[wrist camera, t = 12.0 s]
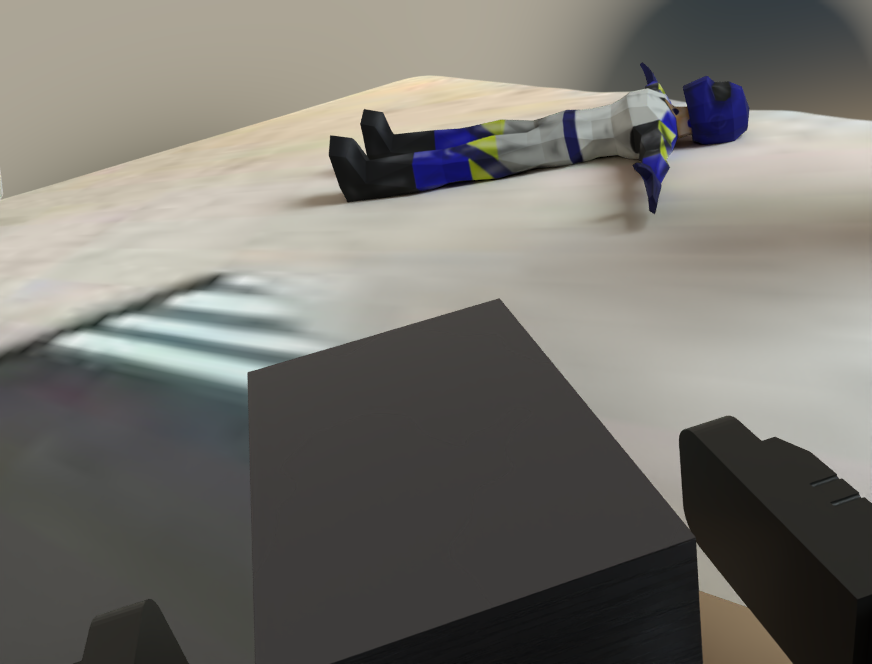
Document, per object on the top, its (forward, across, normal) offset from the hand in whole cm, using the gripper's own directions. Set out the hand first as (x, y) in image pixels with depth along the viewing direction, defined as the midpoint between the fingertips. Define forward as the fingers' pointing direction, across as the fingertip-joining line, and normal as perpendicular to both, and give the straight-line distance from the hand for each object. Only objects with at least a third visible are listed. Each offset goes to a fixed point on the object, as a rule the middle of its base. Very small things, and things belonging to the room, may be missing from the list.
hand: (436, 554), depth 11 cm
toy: (+47, -18, +10) cm, 51 cm away
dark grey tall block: (-2, 0, +8) cm, 8 cm away
